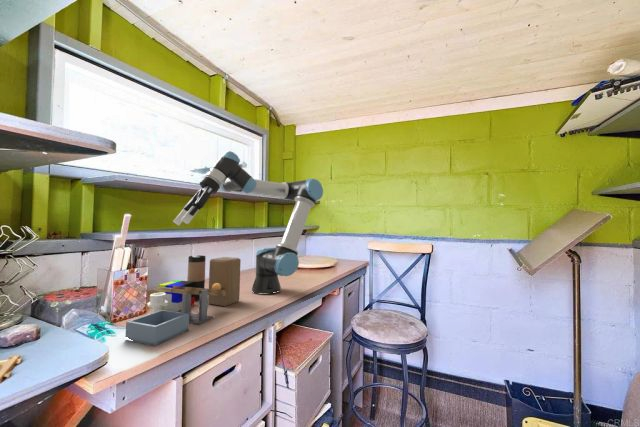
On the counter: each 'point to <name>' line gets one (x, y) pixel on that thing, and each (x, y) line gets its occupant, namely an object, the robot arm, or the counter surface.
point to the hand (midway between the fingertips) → (179, 223)
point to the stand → (203, 308)
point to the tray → (157, 327)
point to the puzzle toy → (176, 295)
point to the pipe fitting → (157, 301)
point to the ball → (216, 286)
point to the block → (225, 280)
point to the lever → (192, 290)
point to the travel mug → (197, 271)
